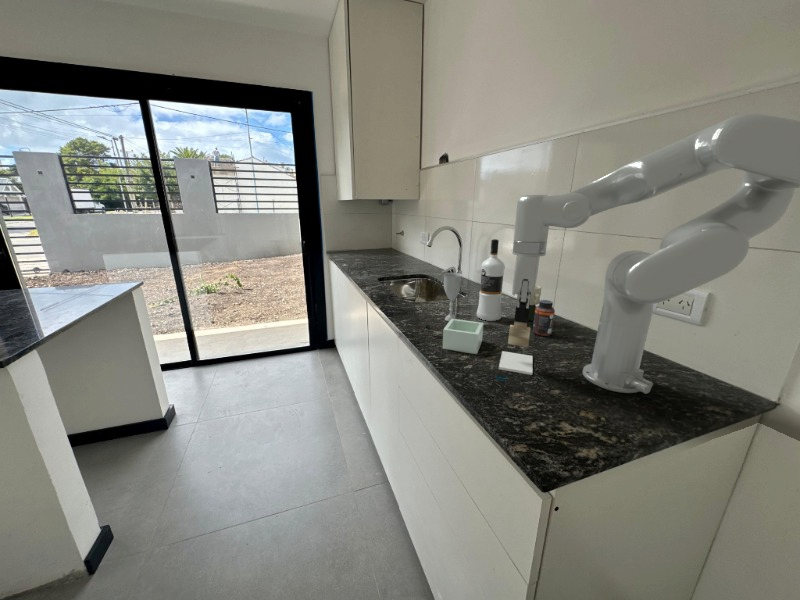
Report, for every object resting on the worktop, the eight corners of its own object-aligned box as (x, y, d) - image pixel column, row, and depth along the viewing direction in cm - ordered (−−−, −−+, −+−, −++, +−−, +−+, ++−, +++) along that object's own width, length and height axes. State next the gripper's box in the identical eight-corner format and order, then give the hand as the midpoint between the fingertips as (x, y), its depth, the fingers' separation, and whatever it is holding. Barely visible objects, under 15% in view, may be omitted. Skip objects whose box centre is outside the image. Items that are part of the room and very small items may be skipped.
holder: (481, 343, 98) (483, 322, 96) (476, 357, 89) (478, 334, 88) (450, 339, 102) (451, 318, 100) (442, 351, 93) (443, 329, 91)
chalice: (437, 319, 119) (439, 273, 114) (452, 317, 122) (454, 271, 117) (448, 326, 113) (450, 277, 108) (463, 323, 116) (466, 275, 111)
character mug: (544, 324, 115) (548, 289, 111) (526, 325, 114) (530, 290, 110) (528, 314, 125) (532, 282, 122) (511, 315, 124) (514, 283, 121)
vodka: (505, 321, 118) (513, 240, 110) (481, 322, 117) (487, 240, 108) (494, 313, 127) (501, 238, 118) (472, 314, 126) (478, 238, 117)
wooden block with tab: (528, 343, 84) (534, 293, 80) (528, 348, 81) (534, 296, 77) (508, 340, 86) (514, 291, 82) (507, 345, 83) (513, 294, 79)
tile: (532, 355, 87) (532, 372, 78) (531, 362, 87) (531, 380, 78) (502, 351, 90) (498, 366, 81) (501, 357, 90) (498, 374, 81)
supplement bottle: (554, 336, 104) (559, 304, 100) (536, 336, 104) (540, 304, 101) (547, 330, 109) (551, 298, 106) (529, 330, 109) (533, 298, 106)
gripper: (514, 244, 85) (508, 309, 90) (510, 251, 70) (503, 328, 76) (545, 245, 82) (536, 312, 87) (547, 253, 68) (537, 332, 73)
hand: (521, 319), depth 81 cm, fingers closed on wooden block with tab, 3 cm apart
